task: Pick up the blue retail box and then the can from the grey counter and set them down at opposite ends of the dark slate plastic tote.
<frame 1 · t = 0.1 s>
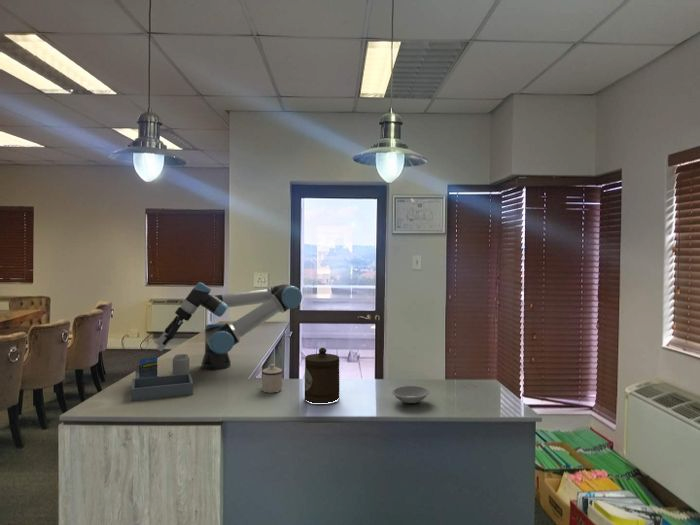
hand: (158, 347, 211), 15 cm above the countertop, tool tilted 35°, fingers open, 13 cm apart
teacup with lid: (270, 390, 197), on the countertop
wooden container: (321, 400, 185), on the countertop
blue retail box: (146, 383, 203), on the countertop
dish: (410, 403, 182), on the countertop
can: (180, 380, 209), on the countertop
tote: (162, 392, 191), on the countertop
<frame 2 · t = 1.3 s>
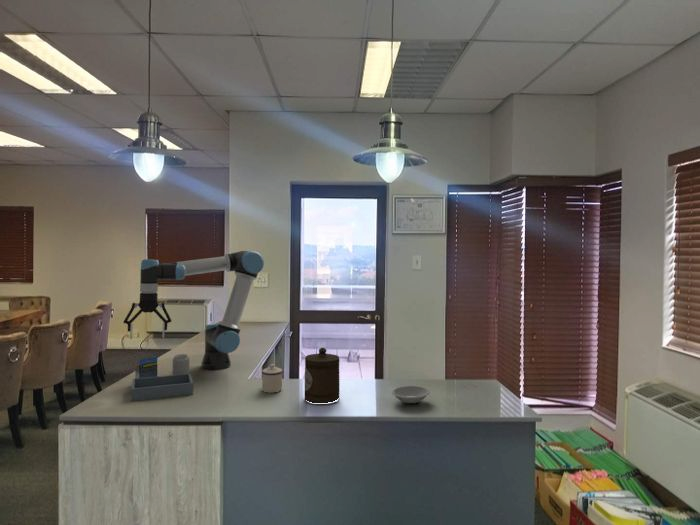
hand: (147, 337, 203), 21 cm above the countertop, tool pointing down, fingers open, 13 cm apart
nothing on the countertop moved.
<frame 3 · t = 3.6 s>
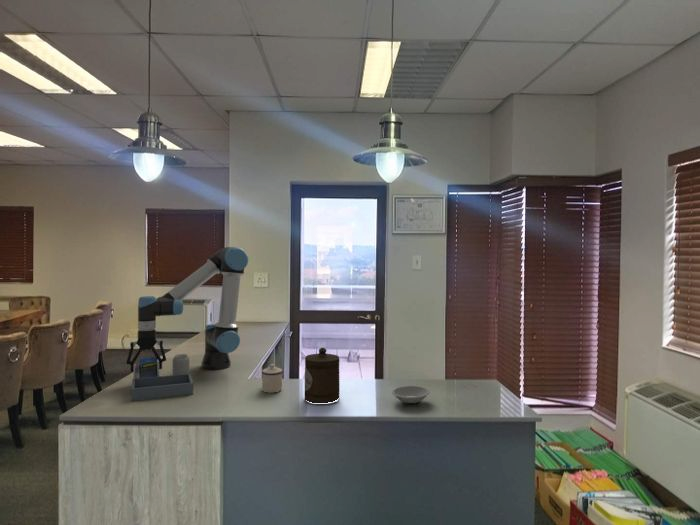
hand: (146, 377, 203), 3 cm above the countertop, tool pointing down, fingers closed on blue retail box, 9 cm apart
blue retail box: (146, 383, 203), on the countertop, touching gripper
everything else where it was.
when the fingers open (5 cm above the countertop, at t = 9.8 s): blue retail box drops 1 cm, resting on tote.
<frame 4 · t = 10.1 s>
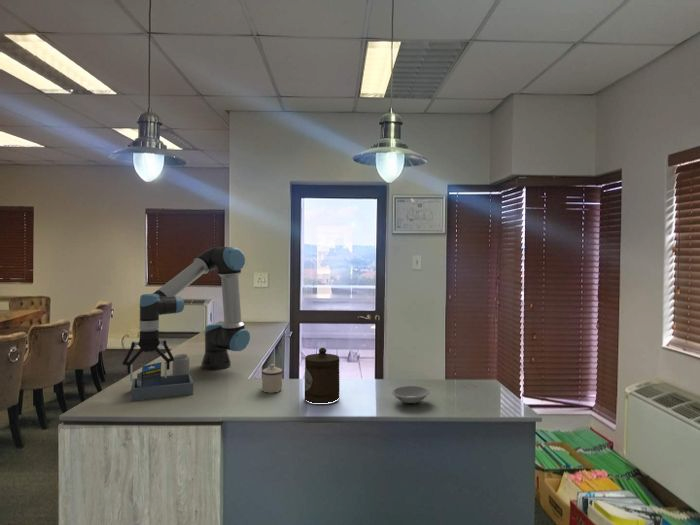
hand: (148, 378, 188), 6 cm above the countertop, tool pointing down, fingers open, 13 cm apart
blue retail box: (148, 391, 188), point 1 cm above the countertop, touching tote
everything else where it was.
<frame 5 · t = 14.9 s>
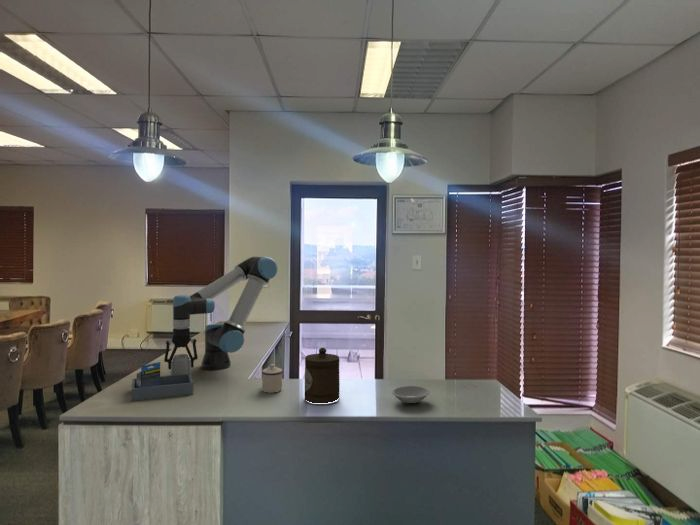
hand: (180, 375, 209), 2 cm above the countertop, tool pointing down, fingers closed on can, 7 cm apart
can: (180, 380, 209), on the countertop, touching gripper
everything else where it was.
when the fingers open (5 cm above the countertop, at t = 20.7 s): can drops 2 cm, resting on tote.
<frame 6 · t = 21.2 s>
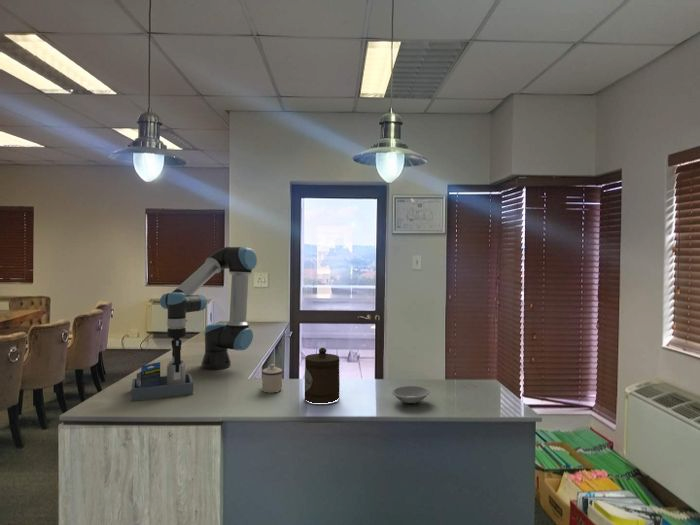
hand: (176, 375, 193), 7 cm above the countertop, tool pointing down, fingers open, 13 cm apart
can: (176, 388, 193), point 1 cm above the countertop, touching tote
everything else where it was.
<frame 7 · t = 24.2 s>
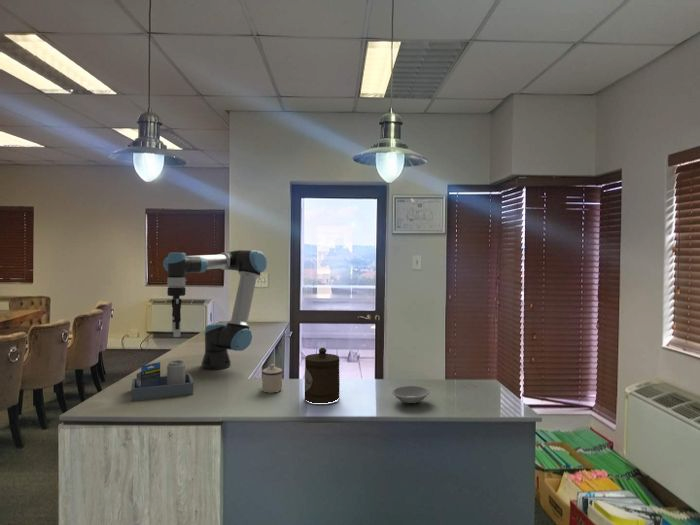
hand: (176, 333, 195), 25 cm above the countertop, tool pointing down, fingers open, 13 cm apart
nothing on the countertop moved.
at the end: blue retail box inside the target area on the tote (5.6 cm from its centre), point 0.8 cm above the tote's base; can inside the target area on the tote (5.6 cm from its centre), point 0.8 cm above the tote's base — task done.
